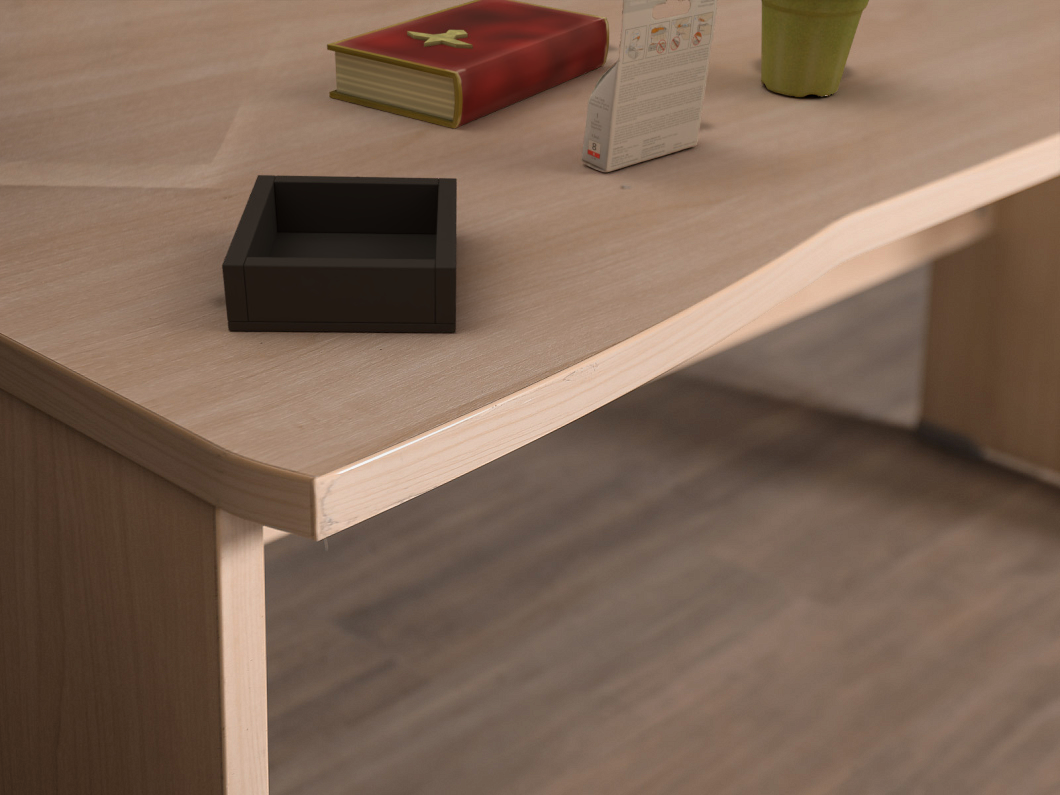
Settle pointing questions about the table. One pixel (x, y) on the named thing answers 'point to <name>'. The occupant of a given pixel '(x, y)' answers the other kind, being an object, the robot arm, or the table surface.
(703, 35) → the ink box
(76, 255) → the table surface
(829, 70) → the plant pot
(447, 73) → the hardcover book
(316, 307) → the black open square tray
